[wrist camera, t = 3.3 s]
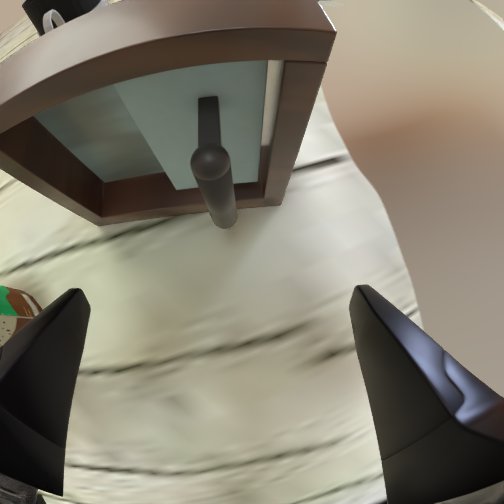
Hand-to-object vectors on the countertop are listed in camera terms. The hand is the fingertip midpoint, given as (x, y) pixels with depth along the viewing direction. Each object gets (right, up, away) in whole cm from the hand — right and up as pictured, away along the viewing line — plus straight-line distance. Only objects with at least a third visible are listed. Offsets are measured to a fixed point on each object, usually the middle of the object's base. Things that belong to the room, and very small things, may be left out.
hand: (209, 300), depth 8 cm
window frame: (-4, +6, +13) cm, 15 cm away
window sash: (-1, +4, +10) cm, 11 cm away
